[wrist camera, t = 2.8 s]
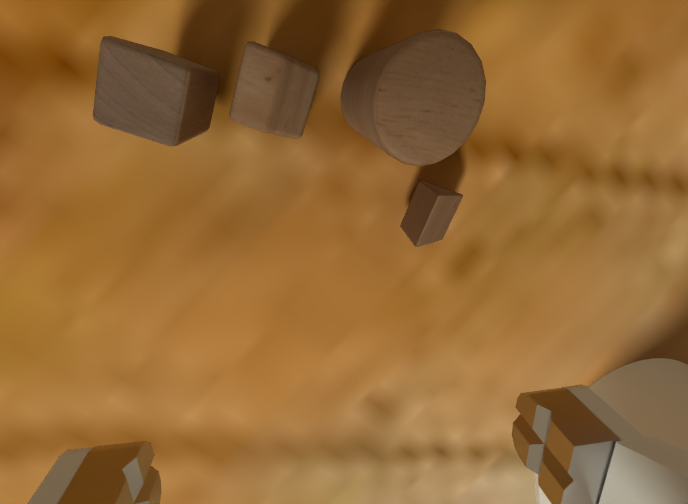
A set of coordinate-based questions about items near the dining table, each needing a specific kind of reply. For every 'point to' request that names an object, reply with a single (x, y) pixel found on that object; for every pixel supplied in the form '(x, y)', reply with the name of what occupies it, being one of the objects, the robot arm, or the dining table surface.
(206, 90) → the wooden block set
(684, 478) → the robot arm
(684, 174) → the dining table surface
